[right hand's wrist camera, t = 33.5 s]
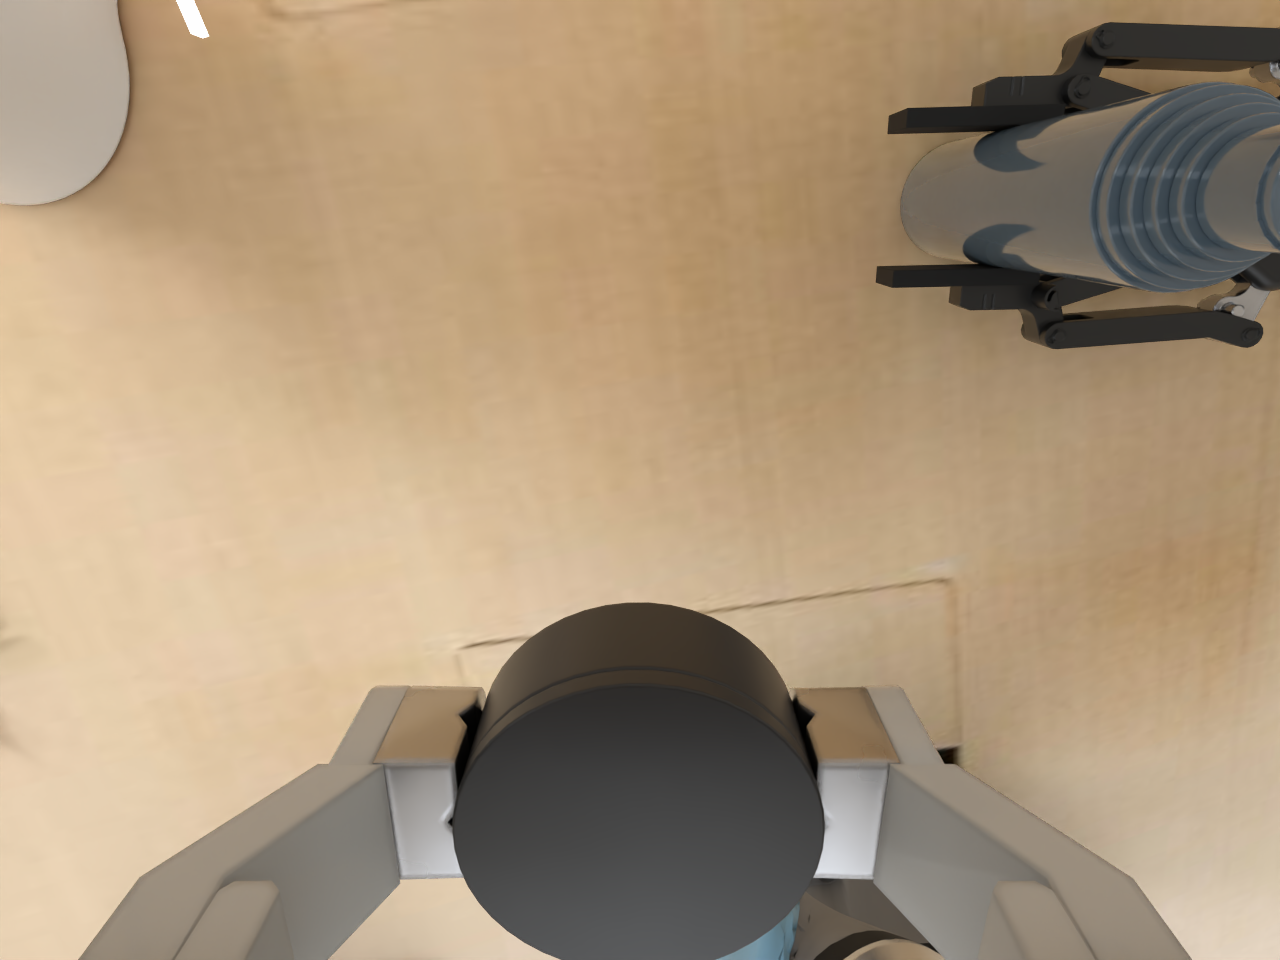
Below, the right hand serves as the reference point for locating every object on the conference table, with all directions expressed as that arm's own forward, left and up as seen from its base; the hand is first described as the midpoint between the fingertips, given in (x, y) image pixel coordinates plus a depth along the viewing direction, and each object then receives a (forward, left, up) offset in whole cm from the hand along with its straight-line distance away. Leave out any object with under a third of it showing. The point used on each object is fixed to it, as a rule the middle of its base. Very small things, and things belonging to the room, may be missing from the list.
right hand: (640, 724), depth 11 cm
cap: (0, 0, +2) cm, 2 cm away
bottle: (+3, +17, -34) cm, 38 cm away
